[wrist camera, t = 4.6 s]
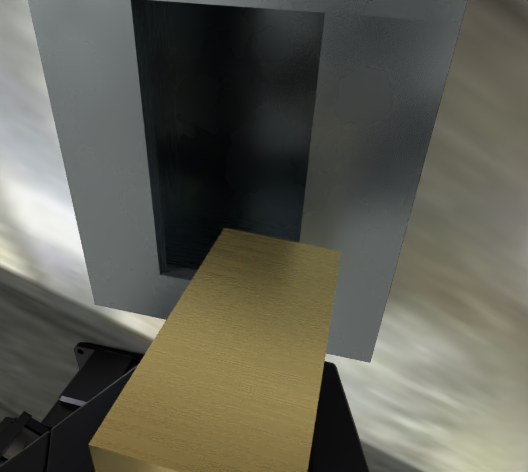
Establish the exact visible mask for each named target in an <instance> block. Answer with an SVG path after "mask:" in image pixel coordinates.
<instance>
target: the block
mask: <svg viewBox="0 0 528 472" xmlns="http://www.w3.org/2000/svg"><path fill="white" fill-rule="evenodd" d="M340 257H341V251H337V250H332V249H327V248H322V247H317V246H313V245H308V244H303V243H298V242H293V241H288V240H283V239H278V238H273V237H268V236H264V235H259V234H254V233H249V232H244V231H239V230H234V229H229V228H224V229H223V231H222V232H221V234H220V236H219V237H218V239H217V240H216V242H215V244H214V245H213V247H212V248H211V250H210V252H209V253H208V255H207V256H206V258H205V260H204V261H203V263H202V264H201V266H200V268H199V269H198V271H197V272H196V274H195V275H194V277H193V279H192V280H191V282H190V283H189V285H188V287H187V288H186V290H185V291H184V293H183V295H182V296H181V298H180V299H179V301H178V303H177V304H176V306H175V307H174V309H173V311H172V312H171V314H170V315H169V317H168V318H167V320H166V322H165V323H164V325H163V326H162V328H161V330H160V331H159V333H158V334H157V336H156V338H155V339H154V341H153V342H152V344H151V346H150V347H149V349H148V350H147V352H146V354H145V355H144V357H143V358H142V360H141V361H140V363H139V365H138V366H137V368H136V369H135V371H134V373H133V374H132V376H131V377H130V379H129V381H128V382H127V384H126V385H125V387H124V389H123V390H122V392H121V393H120V395H119V397H118V398H117V400H116V401H115V403H114V405H113V406H112V408H111V409H110V411H109V412H108V414H107V416H106V417H105V419H104V420H103V422H102V424H101V425H100V427H99V428H98V430H97V432H96V433H95V435H94V436H93V438H92V440H91V441H90V443H89V444H88V445H89V448H90V452H91V456H92V460H93V464H94V468H95V472H307V471H308V464H309V458H310V451H311V445H312V438H313V432H314V425H315V419H316V413H317V406H318V400H319V393H320V387H321V380H322V374H323V367H324V361H325V354H326V348H327V341H328V335H329V328H330V322H331V315H332V309H333V302H334V296H335V289H336V283H337V276H338V270H339V264H340Z"/></svg>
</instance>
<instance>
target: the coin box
mask: <svg viewBox="0 0 528 472" xmlns="http://www.w3.org/2000/svg"><path fill="white" fill-rule="evenodd" d="M28 3H29V7H30V12H31V16H32V21H33V25H34V30H35V35H36V39H37V44H38V48H39V53H40V57H41V62H42V66H43V71H44V75H45V80H46V84H47V89H48V93H49V98H50V103H51V107H52V112H53V116H54V121H55V125H56V130H57V134H58V139H59V143H60V148H61V152H62V157H63V162H64V166H65V171H66V175H67V180H68V184H69V189H70V193H71V198H72V202H73V207H74V211H75V216H76V221H77V225H78V230H79V234H80V239H81V243H82V248H83V252H84V257H85V261H86V266H87V270H88V275H89V279H90V284H91V289H92V293H93V298H94V302H95V305H100V306H104V307H109V308H114V309H119V310H123V311H128V312H133V313H138V314H142V315H147V316H152V317H156V318H161V319H166V320H167V318H168V317H169V315H170V314H171V312H172V311H173V309H174V307H175V306H176V304H177V303H178V301H179V299H180V298H181V296H182V295H183V293H184V291H185V290H186V288H187V287H188V285H189V283H190V282H191V280H192V279H193V277H194V275H195V274H196V272H197V271H198V269H199V268H200V266H201V264H202V263H203V261H204V260H205V258H206V256H207V255H208V253H209V252H210V250H211V248H212V247H213V245H214V244H215V242H216V240H217V239H218V237H219V236H220V234H221V232H222V231H223V229H224V228H229V229H234V230H239V231H244V232H249V233H254V234H259V235H264V236H268V237H273V238H278V239H283V240H288V241H293V242H298V243H303V244H308V245H313V246H317V247H322V248H327V249H332V250H337V251H341V257H340V264H339V270H338V276H337V283H336V289H335V296H334V302H333V309H332V315H331V322H330V328H329V335H328V341H327V348H326V353H327V354H332V355H336V356H341V357H346V358H351V359H355V360H360V361H365V362H371V358H372V354H373V351H374V347H375V343H376V339H377V336H378V332H379V328H380V324H381V321H382V317H383V313H384V310H385V306H386V302H387V298H388V295H389V291H390V287H391V284H392V280H393V276H394V272H395V269H396V265H397V261H398V257H399V254H400V250H401V246H402V243H403V239H404V235H405V231H406V228H407V224H408V220H409V216H410V213H411V209H412V205H413V202H414V198H415V194H416V190H417V187H418V183H419V179H420V175H421V172H422V168H423V164H424V161H425V157H426V153H427V149H428V146H429V142H430V138H431V134H432V131H433V127H434V123H435V120H436V116H437V112H438V108H439V105H440V101H441V97H442V93H443V90H444V86H445V82H446V79H447V75H448V71H449V67H450V64H451V60H452V56H453V52H454V49H455V45H456V41H457V38H458V34H459V30H460V26H461V23H462V19H463V15H464V11H465V8H466V4H467V0H28Z"/></svg>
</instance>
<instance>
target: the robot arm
mask: <svg viewBox="0 0 528 472" xmlns="http://www.w3.org/2000/svg"><path fill="white" fill-rule="evenodd" d="M74 352H75V355H76V359H77V362H78V366H79V371H78V372H77V374H76V375H75V376H74V378H73V379H72V380H71V382H70V383H69V384H68V385H67V387H66V388H65V389H64V391H63V392H62V393H61V395H60V396H59V400H58V401H57V402H56V403H55V405H54V406H53V407H52V409H51V410H50V411H49V413H48V414H47V415H46V417H45V418H44V419H43V420H42V422H41V423H40V422H38V421H36V420H35V419H33V418H32V415H30V414H28V413H27V412H25V411H24V412H23V413H22V414H21V415H20V417H19V418H10V417H5V418H4V420H3V421H2V422H1V423H0V472H95V468H94V464H93V460H92V456H91V452H90V448H89V445H88V444H89V443H90V441H91V440H92V438H93V436H94V435H95V433H96V432H97V430H98V428H99V427H100V425H101V424H102V422H103V420H104V419H105V417H106V416H107V414H108V412H109V411H110V409H111V408H112V406H113V405H114V403H115V401H116V400H117V398H118V397H119V395H120V393H121V392H122V390H123V389H124V387H125V385H126V384H127V382H128V381H129V379H130V377H131V376H132V374H133V373H134V371H135V369H136V368H137V366H138V365H139V363H140V361H141V360H142V358H143V357H144V356H139V355H135V354H131V353H126V352H122V351H118V350H113V349H109V348H105V347H100V346H96V345H92V344H87V343H83V342H80V343H78V344H77V345H76V346H75V348H74ZM5 453H6V454H8V455H9V456H11V457H12V458H10V459H9V460H8V459H6V458H5V457H3V455H4V454H5ZM307 472H370V469H369V466H368V463H367V460H366V457H365V454H364V451H363V448H362V445H361V442H360V439H359V435H358V432H357V429H356V426H355V423H354V420H353V417H352V414H351V411H350V408H349V404H348V401H347V398H346V395H345V392H344V389H343V386H342V383H341V380H340V377H339V374H338V370H337V368H336V366H335V364H333V363H330V362H326V361H324V367H323V374H322V380H321V387H320V393H319V400H318V406H317V413H316V419H315V425H314V432H313V438H312V445H311V451H310V458H309V464H308V471H307Z"/></svg>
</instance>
